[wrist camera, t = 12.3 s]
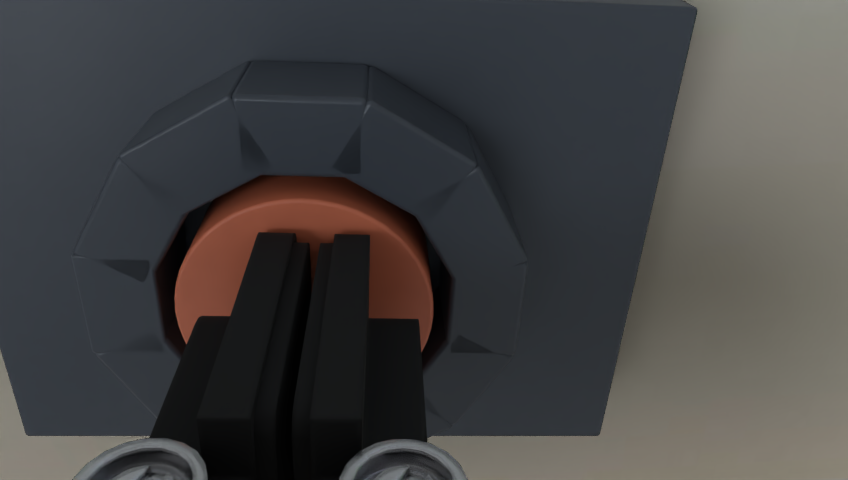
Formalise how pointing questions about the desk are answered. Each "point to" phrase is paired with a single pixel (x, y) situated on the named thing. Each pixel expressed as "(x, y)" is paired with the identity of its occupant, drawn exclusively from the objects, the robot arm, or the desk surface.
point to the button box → (333, 157)
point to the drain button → (312, 223)
